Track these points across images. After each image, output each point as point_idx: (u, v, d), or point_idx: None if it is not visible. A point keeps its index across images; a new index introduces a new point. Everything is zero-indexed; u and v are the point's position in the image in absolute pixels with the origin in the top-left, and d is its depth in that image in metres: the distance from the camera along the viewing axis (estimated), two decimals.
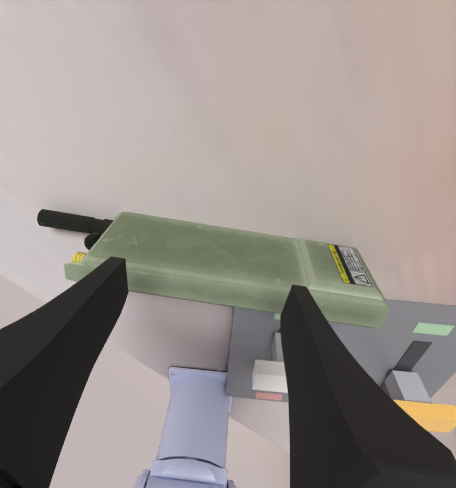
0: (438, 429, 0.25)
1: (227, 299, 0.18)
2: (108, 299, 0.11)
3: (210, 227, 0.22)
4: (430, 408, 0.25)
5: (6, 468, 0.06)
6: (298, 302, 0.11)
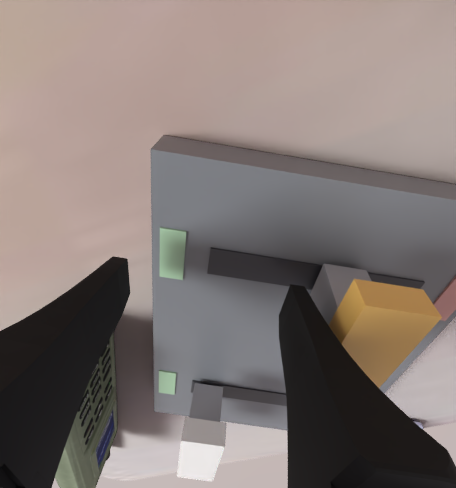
0: (410, 337, 0.09)
1: (65, 468, 0.21)
2: (110, 299, 0.11)
3: None
4: None
5: (9, 468, 0.06)
6: (296, 302, 0.11)
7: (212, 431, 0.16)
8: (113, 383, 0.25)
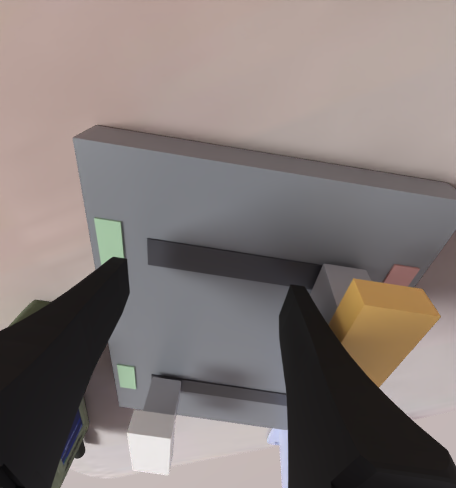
0: (410, 336, 0.09)
1: None
2: (110, 299, 0.11)
3: None
4: None
5: (9, 468, 0.06)
6: (296, 302, 0.11)
7: (160, 423, 0.16)
8: None
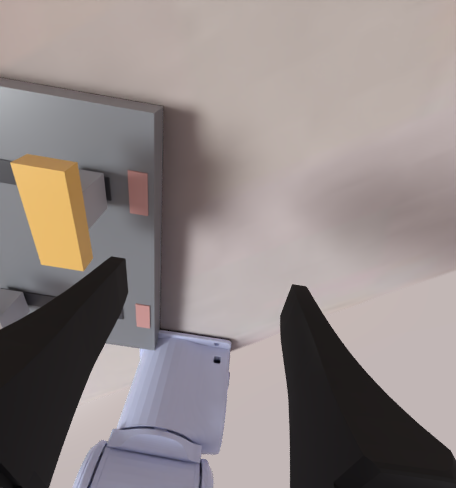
0: (59, 192, 0.13)
1: None
2: (108, 299, 0.11)
3: None
4: None
5: (6, 468, 0.06)
6: (298, 302, 0.11)
7: None
8: None
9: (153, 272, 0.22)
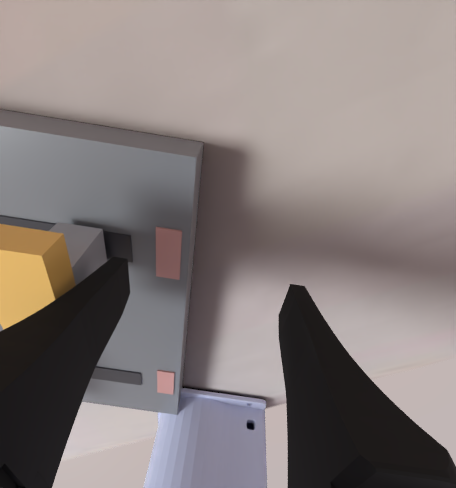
0: (37, 280, 0.09)
1: None
2: (110, 299, 0.11)
3: None
4: None
5: (10, 468, 0.06)
6: (296, 302, 0.11)
7: None
8: None
9: (181, 339, 0.18)
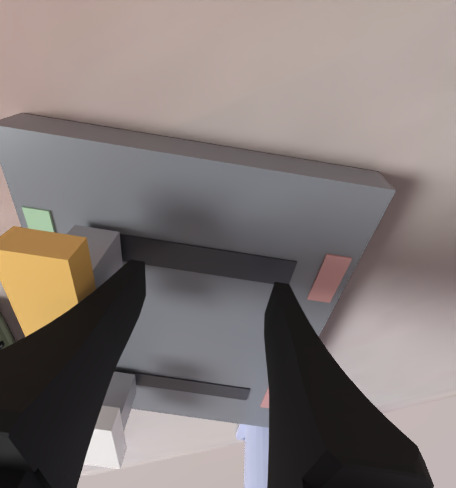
0: (61, 284, 0.09)
1: None
2: (129, 302, 0.11)
3: None
4: None
5: (42, 473, 0.07)
6: (279, 299, 0.11)
7: (102, 416, 0.16)
8: None
9: None
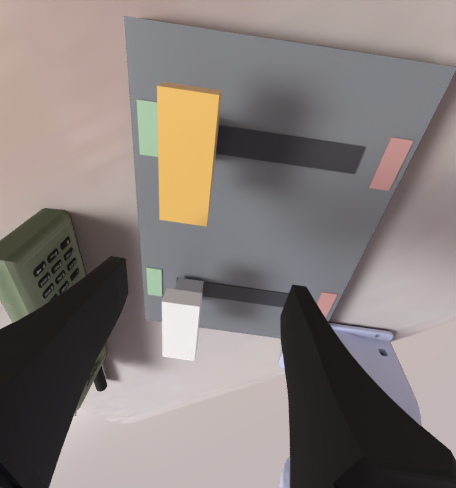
0: (206, 123, 0.12)
1: None
2: (108, 299, 0.11)
3: None
4: None
5: (6, 468, 0.06)
6: (298, 302, 0.11)
7: (189, 297, 0.19)
8: None
9: (360, 256, 0.21)
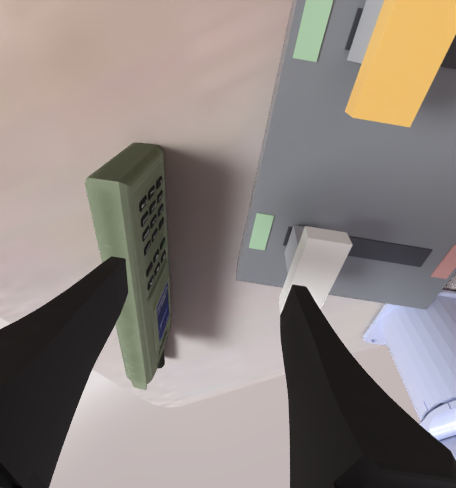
0: None
1: (130, 314, 0.20)
2: (108, 299, 0.11)
3: None
4: (387, 3, 0.10)
5: (6, 468, 0.06)
6: (298, 302, 0.11)
7: (335, 235, 0.16)
8: (166, 251, 0.24)
9: None
